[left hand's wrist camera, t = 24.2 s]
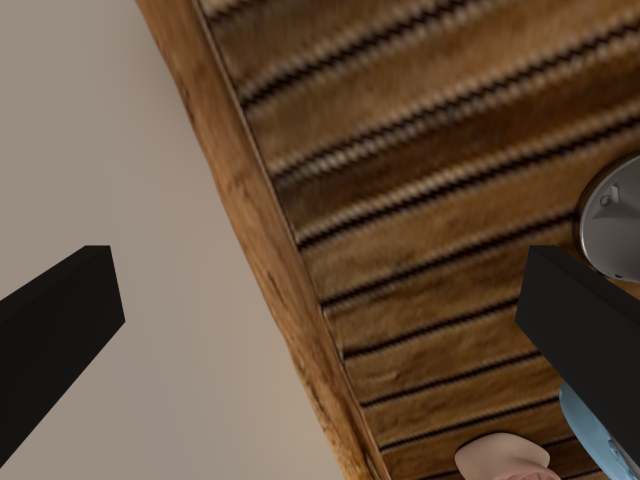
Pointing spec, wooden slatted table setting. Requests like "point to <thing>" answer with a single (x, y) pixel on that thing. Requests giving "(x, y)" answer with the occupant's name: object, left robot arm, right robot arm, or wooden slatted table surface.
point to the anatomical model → (504, 459)
